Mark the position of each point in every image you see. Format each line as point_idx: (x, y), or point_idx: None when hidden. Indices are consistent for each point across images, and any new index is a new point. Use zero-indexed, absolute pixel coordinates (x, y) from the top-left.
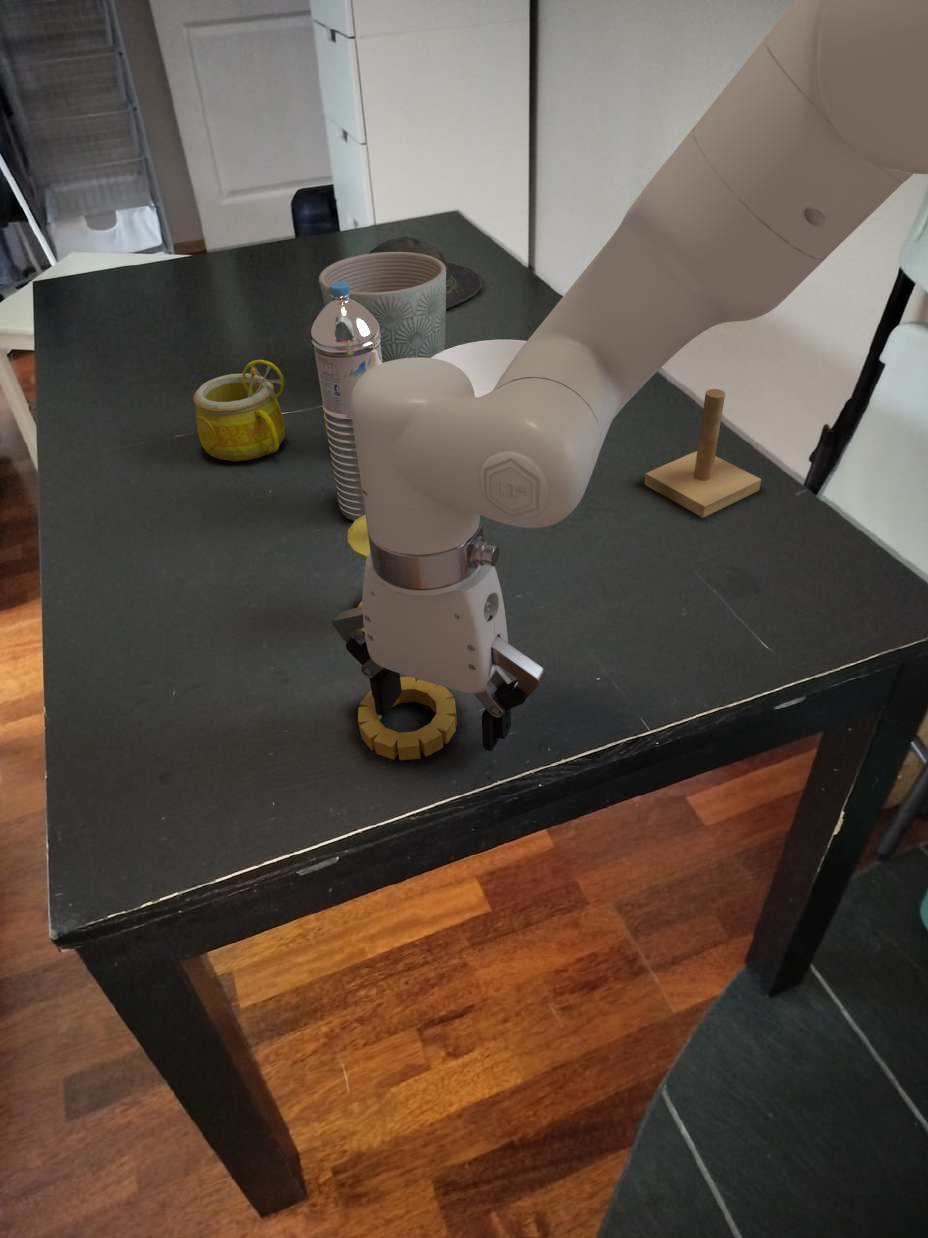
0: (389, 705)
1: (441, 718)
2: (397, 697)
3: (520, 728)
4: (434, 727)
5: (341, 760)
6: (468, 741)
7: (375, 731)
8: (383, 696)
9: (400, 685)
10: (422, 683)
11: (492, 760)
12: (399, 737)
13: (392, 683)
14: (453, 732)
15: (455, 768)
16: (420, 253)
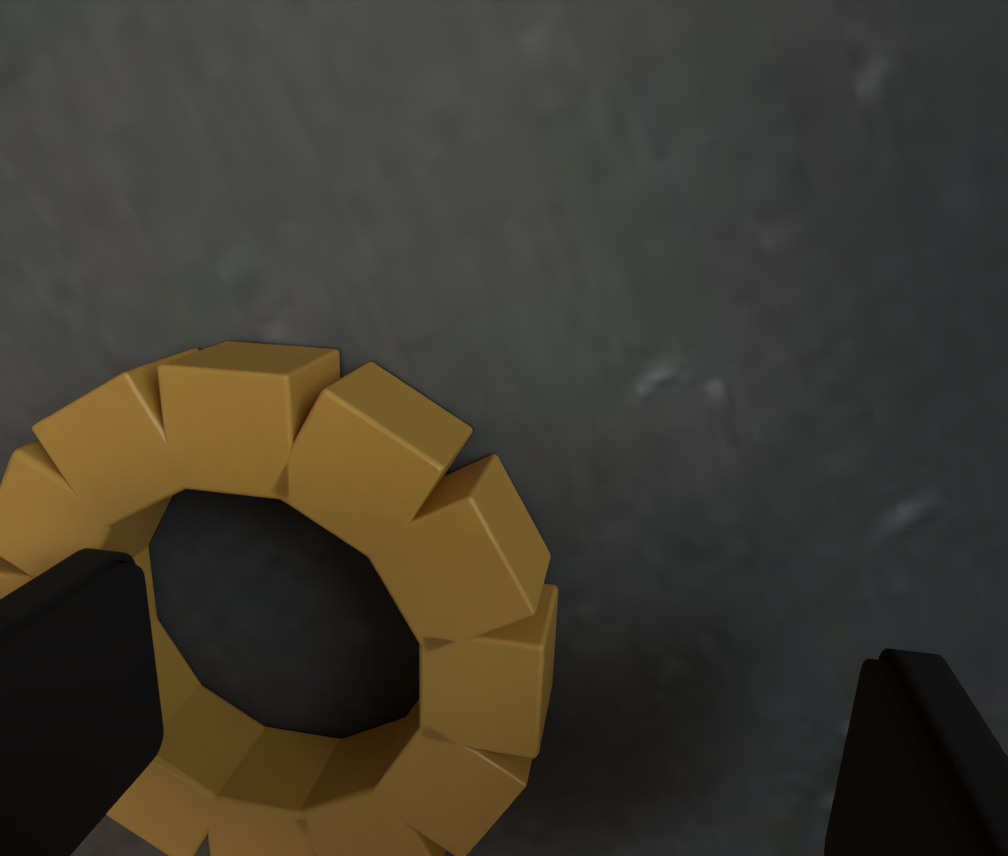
0: (137, 716)
1: (467, 675)
2: (140, 616)
3: (957, 461)
4: (461, 752)
5: (156, 849)
6: (657, 635)
7: (184, 828)
8: (52, 851)
9: (91, 597)
10: (205, 426)
11: (839, 726)
12: (316, 842)
13: (23, 754)
14: (555, 620)
15: (656, 806)
16: None
